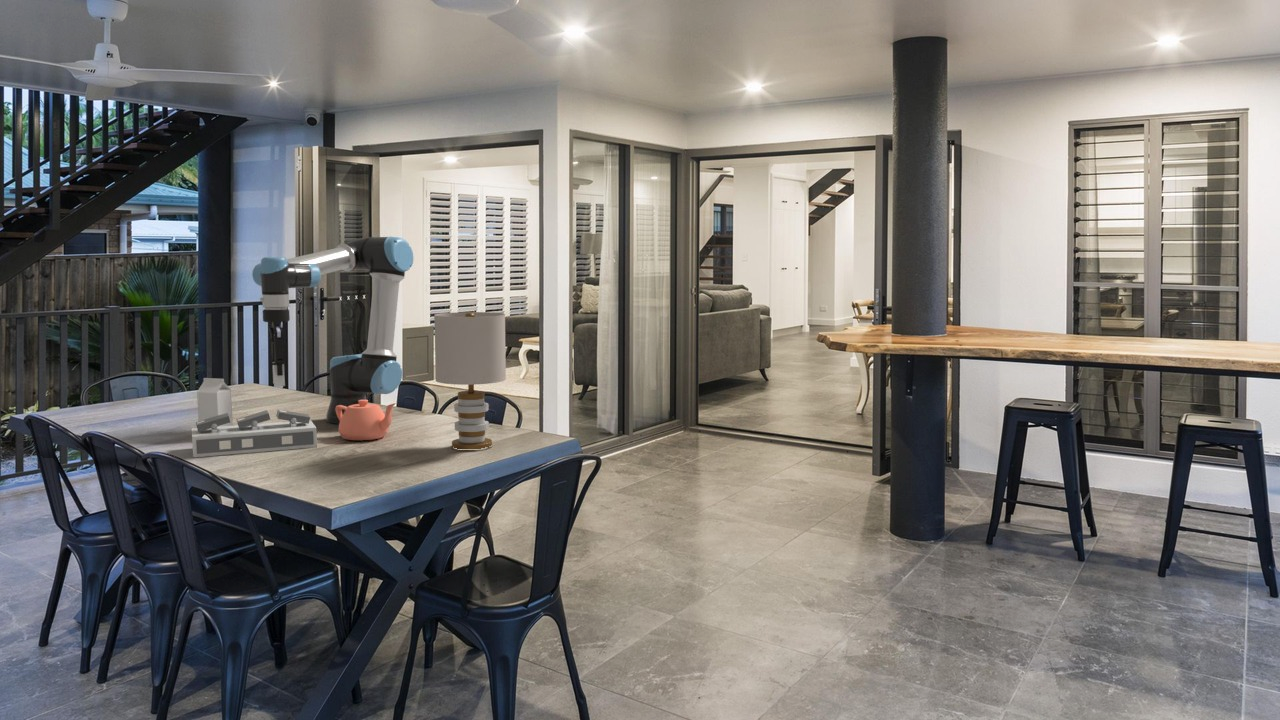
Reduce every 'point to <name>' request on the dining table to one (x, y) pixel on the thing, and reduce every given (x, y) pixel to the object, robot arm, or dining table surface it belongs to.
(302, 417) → the plate
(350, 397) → the robot arm
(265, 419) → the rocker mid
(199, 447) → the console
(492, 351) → the lamp
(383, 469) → the dining table surface
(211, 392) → the milk carton
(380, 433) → the teapot
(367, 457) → the dining table surface
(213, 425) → the rocker
